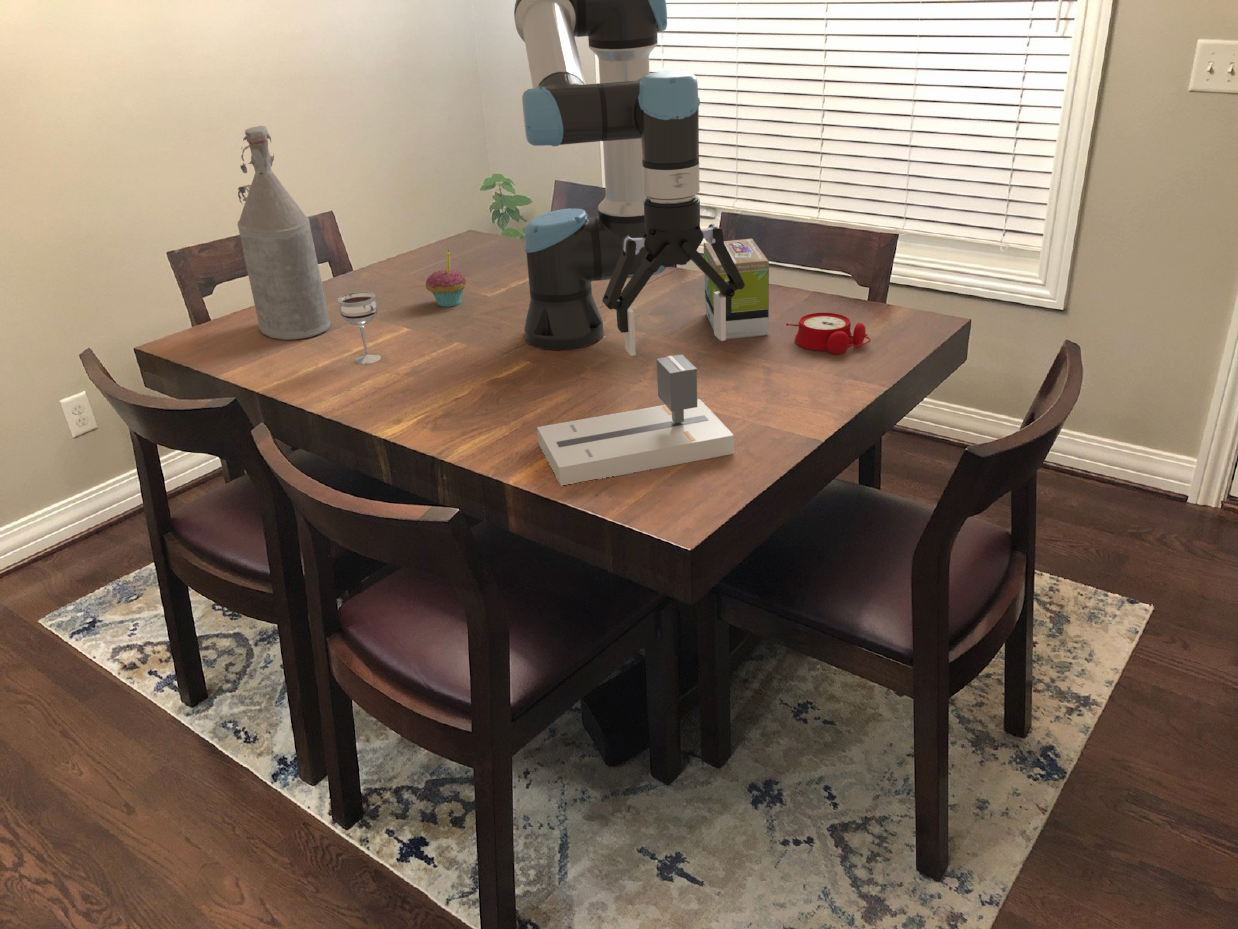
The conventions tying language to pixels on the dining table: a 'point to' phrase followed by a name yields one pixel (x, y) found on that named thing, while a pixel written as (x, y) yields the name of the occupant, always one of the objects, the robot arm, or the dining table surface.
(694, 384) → the fader knob
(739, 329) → the tea box
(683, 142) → the robot arm
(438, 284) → the cupcake
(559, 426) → the console
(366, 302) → the wineglass
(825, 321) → the alarm clock
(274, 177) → the stoneware bottle
